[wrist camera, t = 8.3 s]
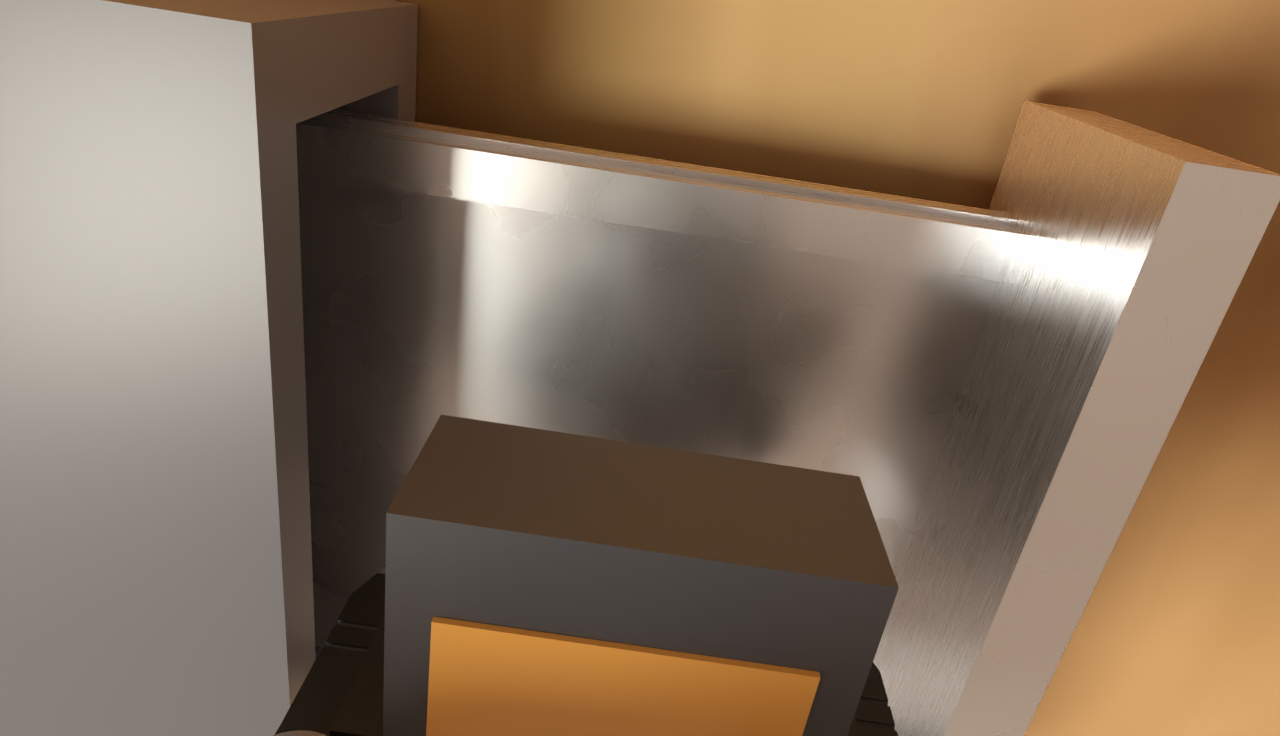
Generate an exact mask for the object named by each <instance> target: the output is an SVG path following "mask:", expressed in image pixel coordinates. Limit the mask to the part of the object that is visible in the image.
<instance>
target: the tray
mask: <svg viewBox="0 0 1280 736" xmlns="http://www.w3.org/2000/svg"><path fill="white" fill-rule="evenodd" d="M296 140H297V167H298V194H299V221H300V248H301V275H302V302H303V329H304V356H305V383H306V410H307V437H308V464H309V491H310V518H311V545H312V572H313V599H314V626H315V653H316V658H317V656H318V654H319V653H320V651H321V649H322V647H324V646H325V641H326V640H327V638H328V636H329V634H330V632H331V630H332V628H333V627H334V625H336V623H337V619H338V617H339V616H340V614H341V612H342V610H343V608H344V606H345V604H346V603H347V601H348V599H349V597H350V595H351V594H352V593H353V592H354V591H355V590H357V589H358V588H359V587H360V586H362V585H363V584H364V583H365V582H367V581H368V580H369V579H370V578H372V577H373V576H374V575H375V574H377V573H379V574H385V571H386V513H387V511H388V509H389V508H390V506H391V504H392V502H393V500H394V498H395V497H396V495H397V493H398V491H399V489H400V488H401V486H402V484H403V482H404V480H405V479H406V477H407V475H408V473H409V471H410V470H411V468H412V466H413V464H414V462H415V461H416V459H417V457H418V455H419V453H420V452H421V450H422V448H423V446H424V444H425V443H426V441H427V439H428V437H429V435H430V433H431V432H432V430H433V428H434V426H435V424H436V423H437V421H438V419H439V417H440V415H448V416H455V417H461V418H468V419H475V420H482V421H488V422H495V423H502V424H509V425H515V426H522V427H529V428H536V429H542V430H549V431H556V432H563V433H569V434H576V435H583V436H590V437H596V438H603V439H610V440H617V441H623V442H630V443H637V444H644V445H650V446H657V447H664V448H670V449H677V450H684V451H691V452H697V453H704V454H711V455H718V456H724V457H731V458H738V459H745V460H751V461H758V462H765V463H772V464H778V465H785V466H792V467H799V468H805V469H812V470H819V471H826V472H832V473H839V474H846V475H853V476H859V477H860V479H861V482H862V485H863V488H864V491H865V494H866V496H867V499H868V502H869V505H870V508H871V510H872V513H873V516H874V519H875V522H876V525H877V527H878V530H879V533H880V536H881V539H882V542H883V544H884V547H885V550H886V553H887V556H888V558H889V561H890V564H891V567H892V570H893V573H894V575H895V578H896V581H897V584H898V587H899V589H898V592H897V595H896V597H895V600H894V603H893V606H892V609H891V612H890V615H889V618H888V620H887V623H886V626H885V629H884V632H883V635H882V638H881V640H880V643H879V646H878V649H877V652H876V655H875V658H874V660H873V663H874V664H875V665H876V667H877V668H878V669H879V671H880V673H881V677H882V680H883V684H884V687H885V691H886V694H887V698H888V706H890V709H891V712H892V716H893V719H894V723H895V731H897V733H898V736H1024V735H1025V732H1026V730H1027V728H1028V726H1029V724H1030V722H1031V720H1032V718H1033V716H1034V714H1035V711H1036V709H1037V707H1038V705H1039V703H1040V701H1041V699H1042V697H1043V695H1044V693H1045V691H1046V688H1047V686H1048V684H1049V682H1050V680H1051V678H1052V676H1053V674H1054V672H1055V670H1056V668H1057V665H1058V663H1059V661H1060V659H1061V657H1062V655H1063V653H1064V651H1065V649H1066V647H1067V645H1068V642H1069V640H1070V638H1071V636H1072V634H1073V632H1074V630H1075V628H1076V626H1077V624H1078V622H1079V619H1080V617H1081V615H1082V613H1083V611H1084V609H1085V607H1086V605H1087V603H1088V601H1089V599H1090V596H1091V594H1092V592H1093V590H1094V588H1095V586H1096V584H1097V582H1098V580H1099V578H1100V576H1101V573H1102V571H1103V569H1104V567H1105V565H1106V563H1107V561H1108V559H1109V557H1110V555H1111V553H1112V550H1113V548H1114V546H1115V544H1116V542H1117V540H1118V538H1119V536H1120V534H1121V532H1122V530H1123V527H1124V525H1125V523H1126V521H1127V519H1128V517H1129V515H1130V513H1131V511H1132V509H1133V507H1134V504H1135V502H1136V500H1137V498H1138V496H1139V494H1140V492H1141V490H1142V488H1143V486H1144V484H1145V481H1146V479H1147V477H1148V475H1149V473H1150V471H1151V469H1152V467H1153V465H1154V463H1155V461H1156V458H1157V456H1158V454H1159V452H1160V450H1161V448H1162V446H1163V444H1164V442H1165V440H1166V438H1167V435H1168V433H1169V431H1170V429H1171V427H1172V425H1173V423H1174V421H1175V419H1176V417H1177V414H1178V412H1179V410H1180V408H1181V406H1182V404H1183V402H1184V400H1185V398H1186V396H1187V394H1188V391H1189V389H1190V387H1191V385H1192V383H1193V381H1194V379H1195V377H1196V375H1197V373H1198V371H1199V368H1200V366H1201V364H1202V362H1203V360H1204V358H1205V356H1206V354H1207V352H1208V350H1209V348H1210V345H1211V343H1212V341H1213V339H1214V337H1215V335H1216V333H1217V331H1218V329H1219V327H1220V325H1221V322H1222V320H1223V318H1224V316H1225V314H1226V312H1227V310H1228V308H1229V306H1230V304H1231V302H1232V299H1233V297H1234V295H1235V293H1236V291H1237V289H1238V287H1239V285H1240V283H1241V281H1242V279H1243V276H1244V274H1245V272H1246V270H1247V268H1248V266H1249V264H1250V262H1251V260H1252V258H1253V256H1254V253H1255V251H1256V249H1257V247H1258V245H1259V243H1260V241H1261V239H1262V237H1263V235H1264V233H1265V230H1266V228H1267V226H1268V224H1269V222H1270V220H1271V218H1272V216H1273V214H1274V212H1275V210H1276V207H1277V205H1278V203H1279V201H1280V174H1278V173H1275V172H1272V171H1269V170H1266V169H1263V168H1260V167H1257V166H1254V165H1252V164H1249V163H1246V162H1243V161H1240V160H1237V159H1234V158H1231V157H1228V156H1225V155H1222V154H1219V153H1216V152H1213V151H1210V150H1207V149H1205V148H1202V147H1199V146H1196V145H1193V144H1190V143H1187V142H1184V141H1181V140H1178V139H1175V138H1172V137H1169V136H1166V135H1163V134H1160V133H1158V132H1155V131H1152V130H1149V129H1146V128H1143V127H1140V126H1137V125H1134V124H1131V123H1128V122H1125V121H1122V120H1119V119H1116V118H1113V117H1111V116H1108V115H1105V114H1102V113H1099V112H1096V111H1090V110H1083V109H1077V108H1070V107H1064V106H1058V105H1051V104H1045V103H1038V102H1032V101H1025V100H1024V103H1023V106H1022V109H1021V112H1020V115H1019V118H1018V121H1017V125H1016V128H1015V131H1014V134H1013V137H1012V140H1011V143H1010V146H1009V149H1008V152H1007V155H1006V158H1005V161H1004V164H1003V167H1002V170H1001V173H1000V177H999V180H998V183H997V186H996V189H995V192H994V195H993V198H992V201H991V204H990V207H989V209H983V208H976V207H969V206H963V205H956V204H950V203H943V202H937V201H930V200H924V199H917V198H911V197H904V196H898V195H891V194H885V193H878V192H872V191H865V190H858V189H852V188H845V187H839V186H832V185H826V184H819V183H813V182H806V181H800V180H793V179H787V178H780V177H774V176H767V175H761V174H754V173H747V172H741V171H734V170H728V169H721V168H715V167H708V166H702V165H695V164H689V163H682V162H676V161H669V160H663V159H656V158H650V157H643V156H636V155H630V154H623V153H617V152H610V151H604V150H597V149H591V148H584V147H578V146H571V145H565V144H558V143H552V142H545V141H538V140H532V139H525V138H519V137H512V136H506V135H499V134H493V133H486V132H480V131H473V130H467V129H460V128H454V127H447V126H441V125H434V124H427V123H421V122H414V121H408V120H401V119H395V118H388V117H382V116H375V115H369V114H362V113H356V112H349V111H343V110H336V109H333V110H331V111H328V112H325V113H323V114H320V115H318V116H315V117H312V118H310V119H307V120H304V121H302V122H299V123H297V124H296Z"/></svg>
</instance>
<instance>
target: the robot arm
mask: <svg viewBox="0 0 1280 736" xmlns="http://www.w3.org/2000/svg"><path fill="white" fill-rule="evenodd" d="M384 632H385V574H379V573H377V574H375V575H374V576H373V577H372V578H370V579H369V580H368V581H367V582H365V583H364V584H363V585H362V586H360V587H359V588H358V589H357V590H355V591H354V592H353V593H352V594H351V595H350V597H349V599H348V601H347V603H346V604H345V606H344V608H343V610H342V612H341V614H340V616H339V617H338V619H337V623H336V625H334V627H333V628H332V630H331V632H330V634H329V636H328V638H327V640H326V641H325V646H324V647H322V649H321V651H320V653H319V654H318V656H317V658H316V660H315V662H314V664H313V666H312V667H311V669H310V671H309V673H308V675H307V677H306V678H305V680H304V682H303V684H302V686H301V688H300V690H299V691H298V693H297V695H296V697H295V699H294V701H293V703H292V704H291V706H290V708H289V710H288V712H287V714H286V715H285V717H284V719H283V721H282V723H281V725H280V727H279V728H278V730H277V731H276V733H275V734H274V735H273V736H383V693H384ZM847 736H898V733H897V731H895V723H894V719H893V716H892V712H891V709H890V706H888V698H887V694H886V691H885V687H884V684H883V680H882V677H881V673H880V671H879V669H878V668H877V667H876V665H875V664H874V663H872V666H871V669H870V672H869V675H868V678H867V680H866V683H865V686H864V689H863V692H862V695H861V698H860V701H859V703H858V706H857V709H856V712H855V715H854V718H853V721H852V723H851V726H850V729H849V732H848V735H847Z"/></svg>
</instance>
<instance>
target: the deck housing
mask: <svg viewBox="0 0 1280 736" xmlns="http://www.w3.org/2000/svg"><path fill="white" fill-rule="evenodd" d="M417 30H418V4H414V3H408V2H401V1H395V0H0V736H273V735H274V734H275V733H276V731H277V730H278V728H279V727H280V725H281V723H282V721H283V719H284V717H285V715H286V714H287V712H288V710H289V708H290V706H291V704H292V703H293V701H294V699H295V697H296V695H297V693H298V691H299V690H300V688H301V686H302V684H303V682H304V680H305V678H306V677H307V675H308V673H309V671H310V669H311V667H312V666H313V664H314V662H315V660H316V653H315V626H314V599H313V572H312V545H311V518H310V491H309V464H308V437H307V410H306V383H305V356H304V329H303V302H302V275H301V248H300V221H299V194H298V167H297V140H296V124H297V123H299V122H302V121H304V120H307V119H310V118H312V117H315V116H318V115H320V114H323V113H325V112H328V111H331V110H333V109H336V110H343V111H349V112H356V113H362V114H369V115H375V116H382V117H388V118H395V119H401V120H408V121H414V122H415V116H416V73H417Z"/></svg>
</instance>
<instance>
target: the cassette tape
mask: <svg viewBox="0 0 1280 736" xmlns="http://www.w3.org/2000/svg"><path fill="white" fill-rule="evenodd" d="M898 589H899V587H898V584H897V581H896V578H895V575H894V573H893V570H892V567H891V564H890V561H889V558H888V556H887V553H886V550H885V547H884V544H883V542H882V539H881V536H880V533H879V530H878V527H877V525H876V522H875V519H874V516H873V513H872V510H871V508H870V505H869V502H868V499H867V496H866V494H865V491H864V488H863V485H862V482H861V479H860V477H859V476H853V475H846V474H839V473H832V472H826V471H819V470H812V469H805V468H799V467H792V466H785V465H778V464H772V463H765V462H758V461H751V460H745V459H738V458H731V457H724V456H718V455H711V454H704V453H697V452H691V451H684V450H677V449H670V448H664V447H657V446H650V445H644V444H637V443H630V442H623V441H617V440H610V439H603V438H596V437H590V436H583V435H576V434H569V433H563V432H556V431H549V430H542V429H536V428H529V427H522V426H515V425H509V424H502V423H495V422H488V421H482V420H475V419H468V418H461V417H455V416H448V415H440V417H439V419H438V421H437V423H436V424H435V426H434V428H433V430H432V432H431V433H430V435H429V437H428V439H427V441H426V443H425V444H424V446H423V448H422V450H421V452H420V453H419V455H418V457H417V459H416V461H415V462H414V464H413V466H412V468H411V470H410V471H409V473H408V475H407V477H406V479H405V480H404V482H403V484H402V486H401V488H400V489H399V491H398V493H397V495H396V497H395V498H394V500H393V502H392V504H391V506H390V508H389V509H388V511H387V513H386V571H385V632H384V693H383V736H847V735H848V732H849V729H850V726H851V723H852V721H853V718H854V715H855V712H856V709H857V706H858V703H859V701H860V698H861V695H862V692H863V689H864V686H865V683H866V680H867V678H868V675H869V672H870V669H871V666H872V663H873V660H874V658H875V655H876V652H877V649H878V646H879V643H880V640H881V638H882V635H883V632H884V629H885V626H886V623H887V620H888V618H889V615H890V612H891V609H892V606H893V603H894V600H895V597H896V595H897V592H898Z"/></svg>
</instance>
